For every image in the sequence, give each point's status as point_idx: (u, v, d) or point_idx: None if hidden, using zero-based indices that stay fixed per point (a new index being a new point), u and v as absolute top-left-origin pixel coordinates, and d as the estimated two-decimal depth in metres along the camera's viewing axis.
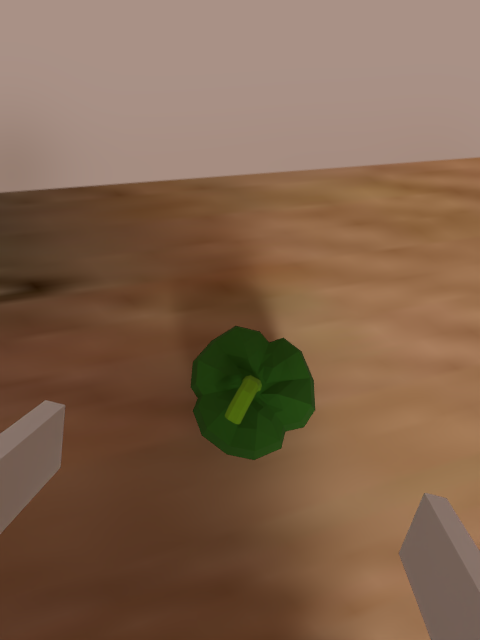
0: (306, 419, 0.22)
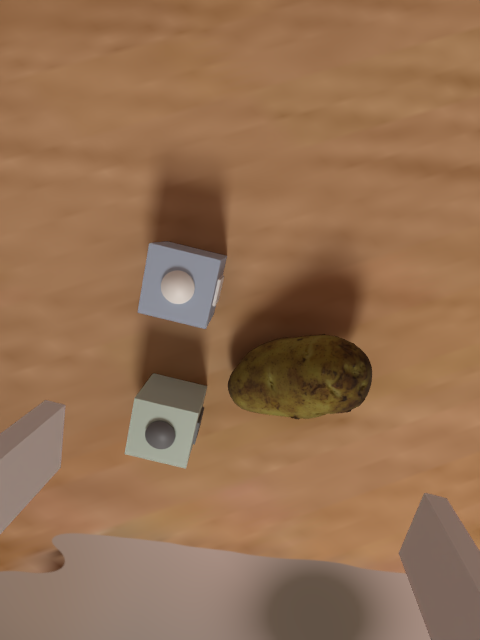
0: None
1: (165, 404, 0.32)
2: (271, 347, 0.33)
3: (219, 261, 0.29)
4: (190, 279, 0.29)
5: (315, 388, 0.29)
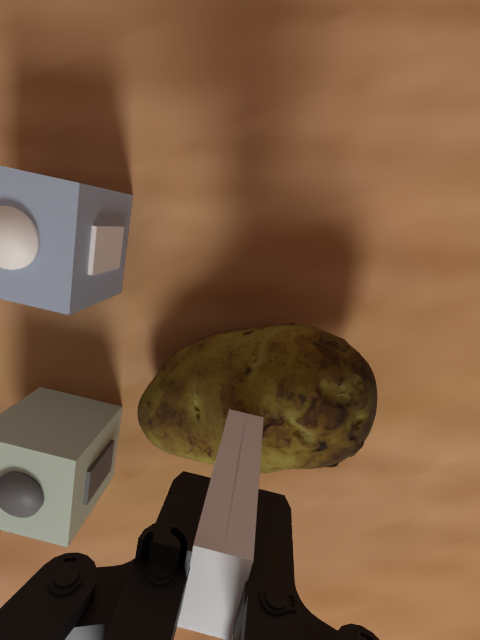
0: None
1: (23, 445, 0.19)
2: (201, 347, 0.19)
3: (77, 185, 0.15)
4: (26, 221, 0.15)
5: (266, 425, 0.15)
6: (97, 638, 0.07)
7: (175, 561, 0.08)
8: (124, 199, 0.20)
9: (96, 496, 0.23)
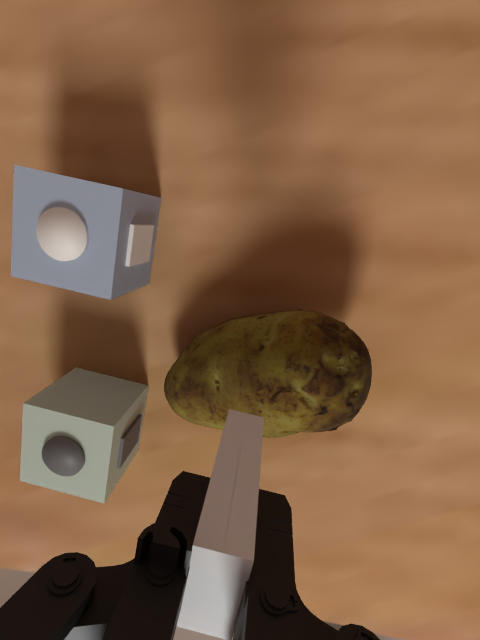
0: None
1: (68, 412, 0.22)
2: (221, 330, 0.22)
3: (121, 190, 0.18)
4: (78, 220, 0.18)
5: (276, 392, 0.18)
6: (96, 638, 0.07)
7: (174, 561, 0.08)
8: (154, 201, 0.23)
9: (126, 463, 0.26)
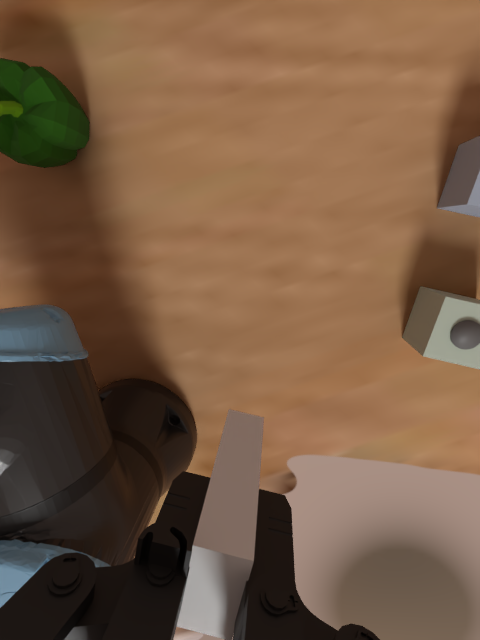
0: (60, 134, 0.31)
1: (475, 303, 0.32)
2: None
3: None
4: None
5: None
6: (96, 638, 0.07)
7: (175, 561, 0.08)
8: None
9: None
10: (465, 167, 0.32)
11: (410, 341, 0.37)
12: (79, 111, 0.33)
